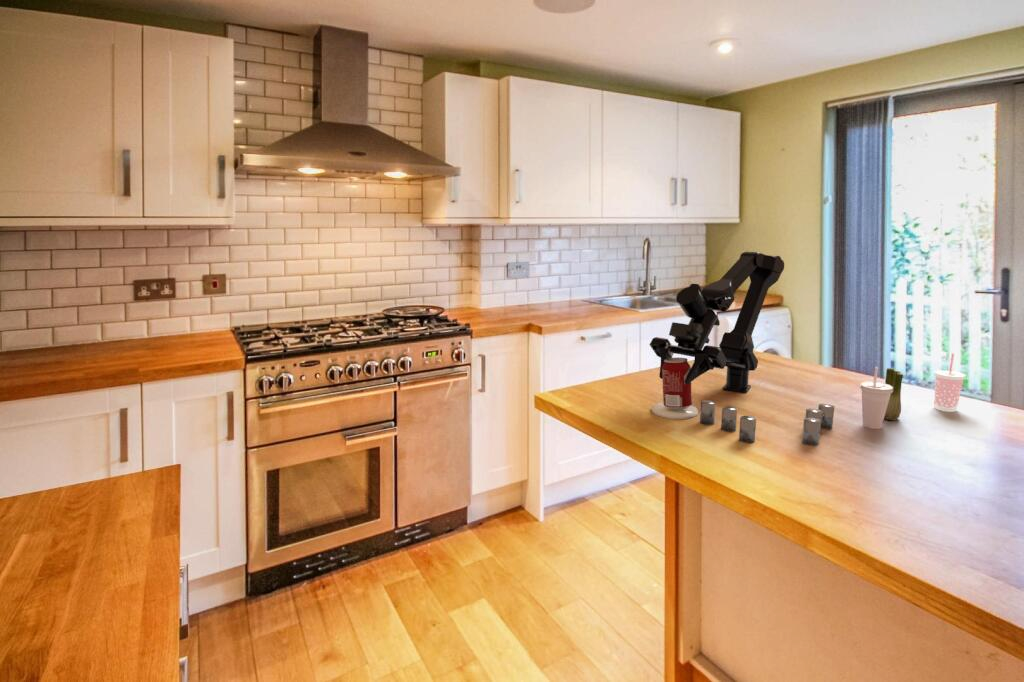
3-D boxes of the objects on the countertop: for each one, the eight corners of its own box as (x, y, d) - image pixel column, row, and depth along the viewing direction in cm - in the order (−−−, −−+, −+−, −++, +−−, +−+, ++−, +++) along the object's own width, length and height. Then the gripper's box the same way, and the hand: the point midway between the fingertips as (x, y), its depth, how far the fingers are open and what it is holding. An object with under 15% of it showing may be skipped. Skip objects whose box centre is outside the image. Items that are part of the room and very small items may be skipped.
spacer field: (698, 420, 144) (699, 400, 143) (829, 424, 140) (831, 403, 139) (709, 441, 131) (710, 419, 130) (853, 446, 127) (856, 424, 126)
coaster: (659, 402, 158) (659, 399, 158) (702, 409, 152) (702, 406, 152) (645, 414, 149) (645, 411, 149) (690, 422, 143) (690, 418, 143)
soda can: (680, 412, 145) (678, 363, 144) (658, 408, 150) (655, 360, 149) (697, 406, 149) (695, 358, 148) (674, 402, 155) (672, 356, 153)
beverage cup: (933, 403, 155) (940, 349, 152) (962, 408, 150) (970, 353, 148) (927, 408, 150) (935, 353, 148) (957, 414, 146) (965, 357, 143)
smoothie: (849, 422, 142) (856, 363, 139) (875, 421, 142) (882, 362, 139) (867, 431, 136) (874, 371, 133) (895, 430, 136) (902, 370, 133)
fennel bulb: (899, 423, 140) (906, 373, 138) (875, 420, 143) (881, 370, 140) (899, 416, 145) (905, 367, 143) (875, 413, 148) (881, 365, 145)
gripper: (654, 305, 155) (627, 355, 150) (723, 314, 141) (696, 369, 136) (670, 331, 162) (645, 380, 157) (737, 341, 148) (712, 395, 143)
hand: (673, 380), depth 148 cm, fingers closed on soda can, 7 cm apart
